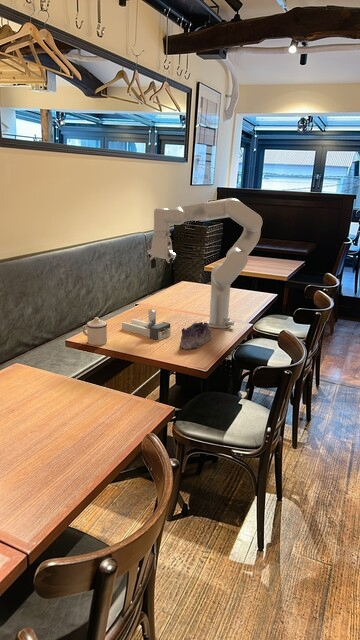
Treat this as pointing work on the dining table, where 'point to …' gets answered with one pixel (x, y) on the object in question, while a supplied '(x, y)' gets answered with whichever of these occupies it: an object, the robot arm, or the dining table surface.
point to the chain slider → (152, 319)
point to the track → (153, 332)
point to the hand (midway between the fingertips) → (161, 269)
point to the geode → (195, 336)
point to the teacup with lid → (96, 332)
